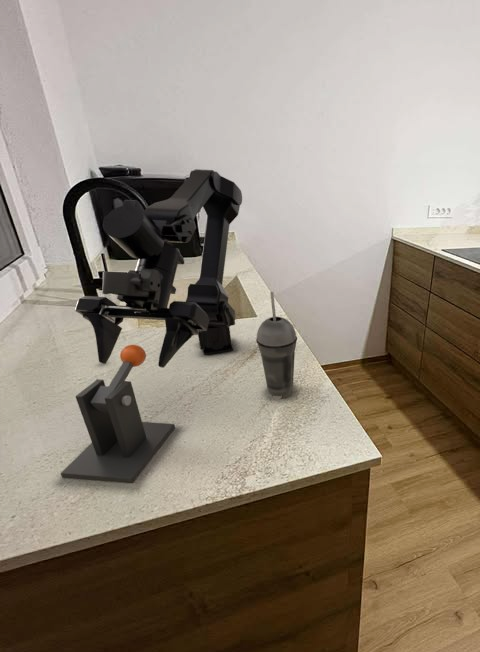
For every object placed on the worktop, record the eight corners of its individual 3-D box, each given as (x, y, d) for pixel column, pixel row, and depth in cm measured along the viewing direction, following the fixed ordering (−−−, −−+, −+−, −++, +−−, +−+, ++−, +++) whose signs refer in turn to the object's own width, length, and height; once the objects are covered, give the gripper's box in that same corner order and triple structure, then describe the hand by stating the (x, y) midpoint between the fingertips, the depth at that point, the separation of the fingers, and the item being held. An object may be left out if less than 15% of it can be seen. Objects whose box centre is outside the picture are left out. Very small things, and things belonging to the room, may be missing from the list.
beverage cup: (267, 407, 71) (257, 303, 61) (257, 387, 76) (247, 290, 67) (304, 397, 74) (301, 298, 64) (292, 379, 79) (287, 285, 70)
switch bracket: (117, 426, 64) (97, 365, 59) (176, 431, 64) (161, 369, 58) (63, 481, 53) (33, 411, 48) (133, 486, 53) (111, 417, 48)
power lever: (132, 353, 62) (122, 339, 59) (153, 355, 61) (144, 340, 59) (96, 413, 54) (83, 400, 52) (119, 415, 54) (108, 401, 52)
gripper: (64, 243, 56) (28, 344, 52) (189, 250, 56) (165, 352, 51) (112, 280, 67) (86, 366, 62) (217, 286, 66) (199, 374, 61)
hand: (131, 365), depth 59 cm, fingers open, 9 cm apart
